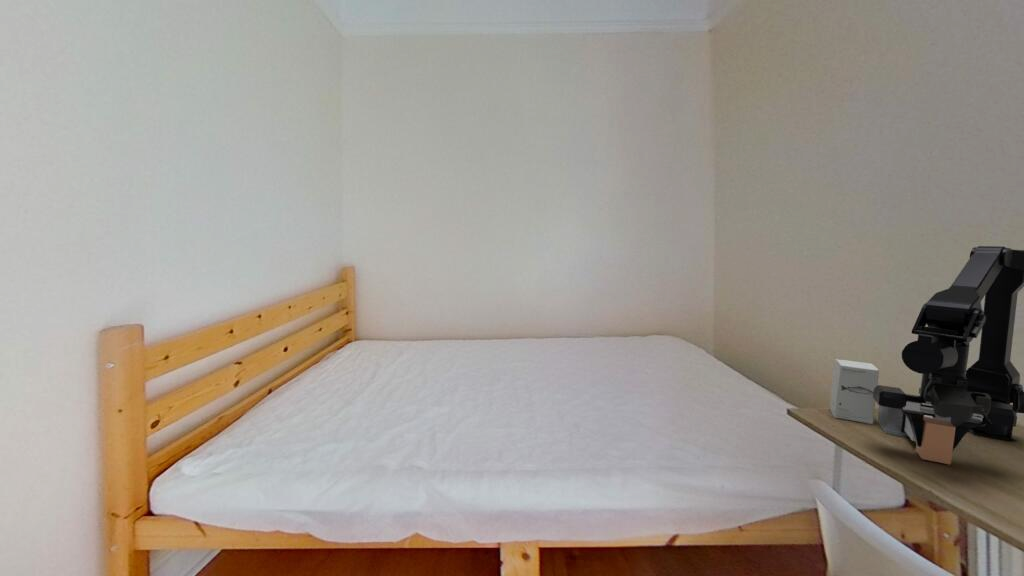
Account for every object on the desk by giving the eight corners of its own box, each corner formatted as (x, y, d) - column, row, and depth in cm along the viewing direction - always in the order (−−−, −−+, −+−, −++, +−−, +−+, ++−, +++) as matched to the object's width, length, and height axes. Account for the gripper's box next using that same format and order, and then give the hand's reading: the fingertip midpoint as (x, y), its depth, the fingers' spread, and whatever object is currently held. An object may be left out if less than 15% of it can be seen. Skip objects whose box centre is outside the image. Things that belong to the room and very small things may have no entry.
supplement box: (833, 418, 105) (839, 364, 103) (828, 408, 111) (834, 357, 110) (873, 425, 101) (880, 369, 100) (866, 414, 108) (872, 362, 107)
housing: (934, 430, 99) (938, 401, 99) (948, 444, 92) (952, 413, 92) (877, 420, 104) (880, 392, 103) (885, 433, 97) (889, 403, 96)
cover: (928, 439, 94) (932, 406, 93) (950, 464, 83) (955, 427, 82) (903, 435, 96) (907, 402, 95) (921, 459, 85) (926, 422, 84)
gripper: (890, 369, 81) (880, 453, 83) (1040, 388, 72) (1025, 481, 74) (876, 356, 91) (868, 431, 92) (1007, 371, 82) (995, 454, 84)
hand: (933, 448), depth 85 cm, fingers closed on cover, 4 cm apart
